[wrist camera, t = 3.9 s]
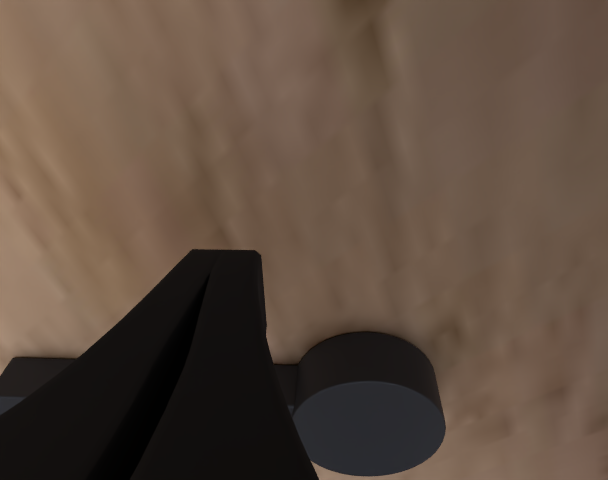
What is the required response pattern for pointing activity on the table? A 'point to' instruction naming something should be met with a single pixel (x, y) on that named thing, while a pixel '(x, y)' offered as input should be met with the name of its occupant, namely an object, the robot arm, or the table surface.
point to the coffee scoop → (330, 401)
